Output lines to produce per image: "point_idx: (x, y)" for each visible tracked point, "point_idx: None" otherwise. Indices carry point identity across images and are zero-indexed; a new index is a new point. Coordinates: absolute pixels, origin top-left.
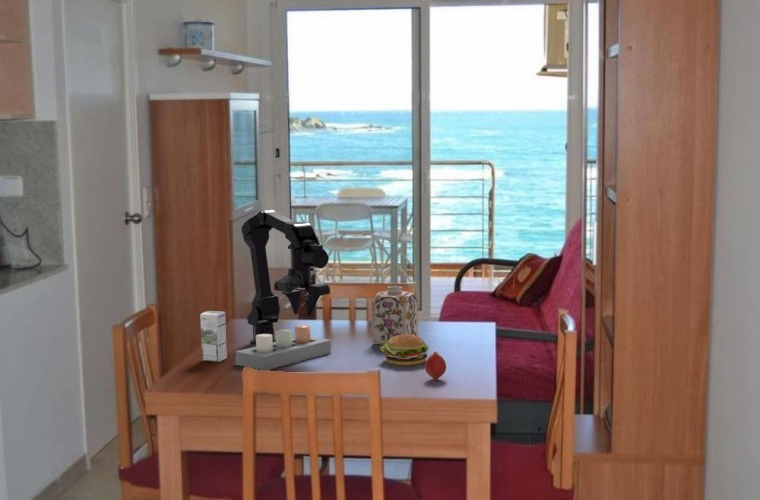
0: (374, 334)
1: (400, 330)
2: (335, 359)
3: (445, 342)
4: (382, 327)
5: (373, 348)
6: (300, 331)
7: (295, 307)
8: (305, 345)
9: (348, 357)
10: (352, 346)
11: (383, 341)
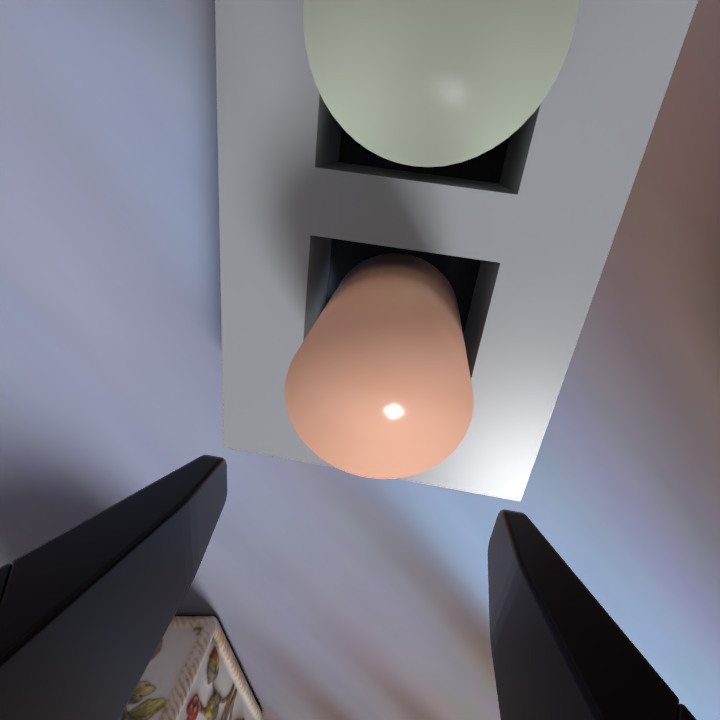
0: (185, 663)
1: None
2: (111, 271)
3: None
4: None
5: None
6: (346, 305)
7: (525, 632)
8: (249, 195)
9: (95, 352)
10: (267, 556)
11: None
